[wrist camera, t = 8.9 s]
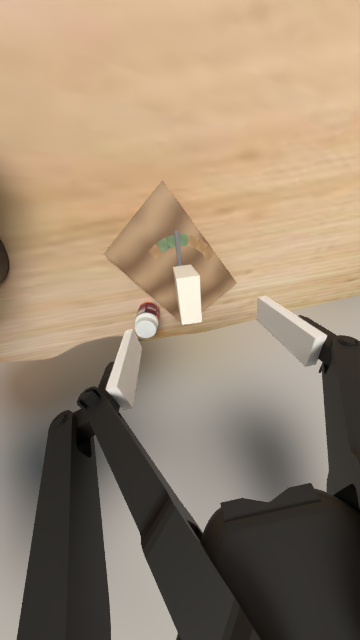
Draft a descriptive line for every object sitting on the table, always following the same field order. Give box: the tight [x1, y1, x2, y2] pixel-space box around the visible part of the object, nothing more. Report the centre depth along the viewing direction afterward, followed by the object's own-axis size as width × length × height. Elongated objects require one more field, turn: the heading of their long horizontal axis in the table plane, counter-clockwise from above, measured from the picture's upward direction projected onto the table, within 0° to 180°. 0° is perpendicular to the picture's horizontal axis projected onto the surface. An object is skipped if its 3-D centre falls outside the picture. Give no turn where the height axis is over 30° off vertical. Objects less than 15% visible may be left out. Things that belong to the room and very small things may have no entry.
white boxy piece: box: [173, 230, 202, 325], centre depth 24 cm, size 3×12×11 cm, turn 7°
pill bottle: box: [135, 301, 159, 338], centre depth 32 cm, size 5×5×8 cm
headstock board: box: [104, 180, 236, 325], centre depth 30 cm, size 22×15×2 cm
